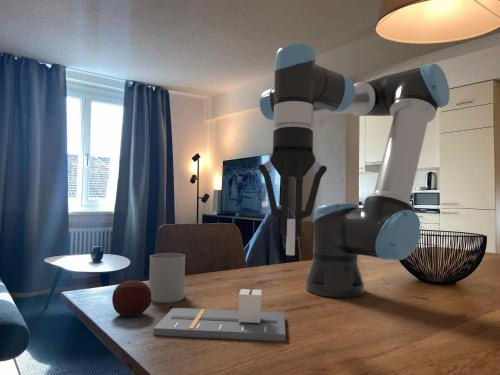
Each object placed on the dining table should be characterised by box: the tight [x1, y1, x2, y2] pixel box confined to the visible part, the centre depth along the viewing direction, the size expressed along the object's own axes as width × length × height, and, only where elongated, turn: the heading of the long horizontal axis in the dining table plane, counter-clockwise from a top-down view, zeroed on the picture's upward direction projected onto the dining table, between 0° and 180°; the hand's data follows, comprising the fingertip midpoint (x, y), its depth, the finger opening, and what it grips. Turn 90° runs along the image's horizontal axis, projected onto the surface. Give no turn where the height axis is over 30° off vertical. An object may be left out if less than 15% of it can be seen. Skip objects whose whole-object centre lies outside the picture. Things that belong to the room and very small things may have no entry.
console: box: [153, 307, 287, 342], centre depth 69 cm, size 23×12×1 cm, turn 86°
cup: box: [148, 252, 186, 303], centre depth 89 cm, size 8×8×10 cm
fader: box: [238, 288, 263, 323], centre depth 69 cm, size 4×4×5 cm
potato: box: [111, 279, 152, 317], centre depth 75 cm, size 7×8×7 cm
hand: (290, 254), depth 69 cm, fingers closed
